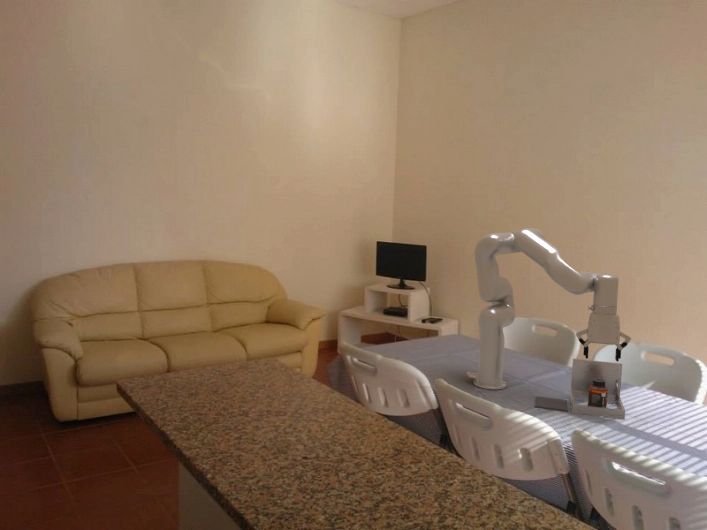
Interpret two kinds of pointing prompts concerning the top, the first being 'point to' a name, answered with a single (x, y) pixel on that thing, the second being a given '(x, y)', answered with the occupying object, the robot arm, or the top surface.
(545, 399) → the mat
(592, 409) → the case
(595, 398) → the supplement bottle
